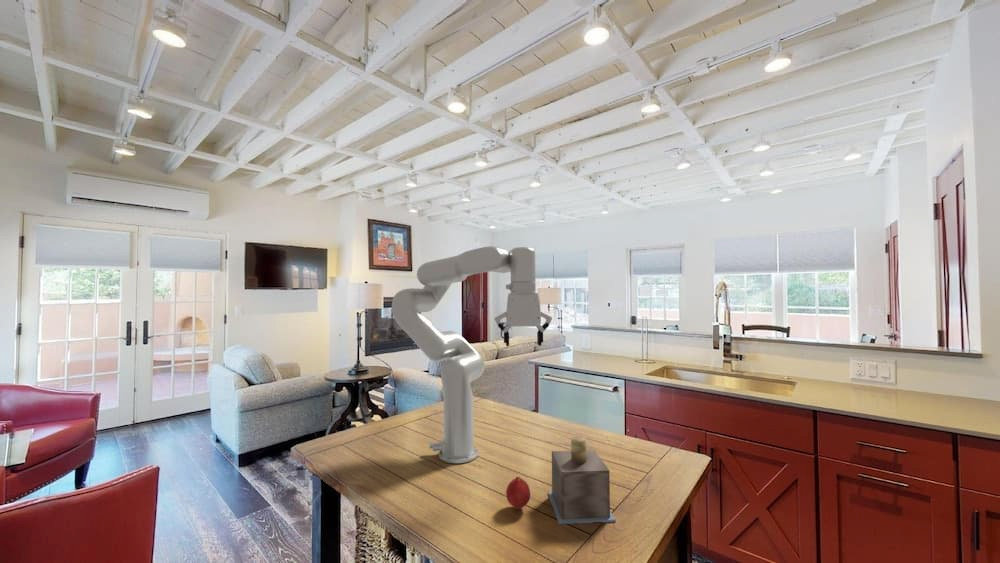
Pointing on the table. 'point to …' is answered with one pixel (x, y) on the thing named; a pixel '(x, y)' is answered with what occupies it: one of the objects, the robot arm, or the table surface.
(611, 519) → the mat
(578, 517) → the cover
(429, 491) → the table surface
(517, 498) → the onion
